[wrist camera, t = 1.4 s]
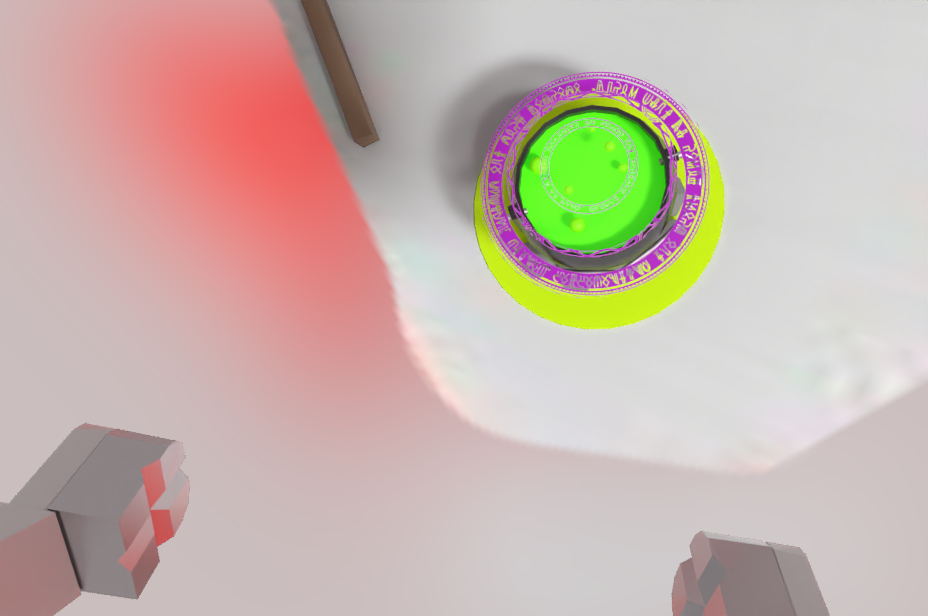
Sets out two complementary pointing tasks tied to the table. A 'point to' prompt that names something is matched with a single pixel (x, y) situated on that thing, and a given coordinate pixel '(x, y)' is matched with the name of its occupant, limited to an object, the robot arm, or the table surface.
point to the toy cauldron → (598, 203)
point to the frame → (340, 72)
